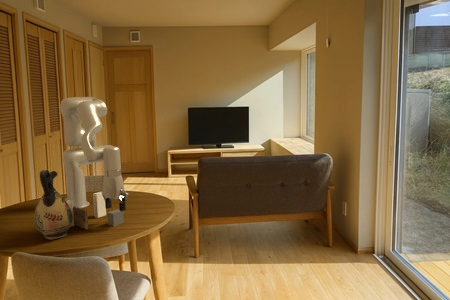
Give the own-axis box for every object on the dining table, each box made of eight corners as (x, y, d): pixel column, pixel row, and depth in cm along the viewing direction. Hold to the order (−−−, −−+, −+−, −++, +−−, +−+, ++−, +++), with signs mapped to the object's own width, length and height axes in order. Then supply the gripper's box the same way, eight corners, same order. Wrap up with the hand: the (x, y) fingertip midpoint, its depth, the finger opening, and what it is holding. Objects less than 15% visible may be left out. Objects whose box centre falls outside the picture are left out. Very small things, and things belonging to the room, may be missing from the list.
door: (75, 223, 205) (74, 205, 203) (88, 228, 196) (87, 210, 195) (69, 224, 203) (67, 206, 201) (82, 230, 194) (80, 212, 192)
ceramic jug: (44, 230, 196) (38, 165, 192) (78, 229, 196) (73, 164, 192) (28, 244, 179) (21, 173, 175) (65, 243, 179) (59, 172, 175)
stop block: (108, 224, 203) (107, 212, 202) (117, 221, 207) (117, 209, 206) (113, 226, 200) (113, 213, 199) (123, 222, 205) (122, 210, 204)
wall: (62, 227, 200) (59, 202, 198) (103, 214, 219) (101, 191, 217) (65, 228, 198) (63, 203, 196) (106, 215, 218) (105, 191, 216)
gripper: (94, 173, 202) (97, 209, 204) (119, 176, 192) (122, 213, 194) (106, 170, 208) (109, 205, 210) (132, 173, 198) (134, 209, 200)
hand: (115, 209), depth 202 cm, fingers open, 9 cm apart
